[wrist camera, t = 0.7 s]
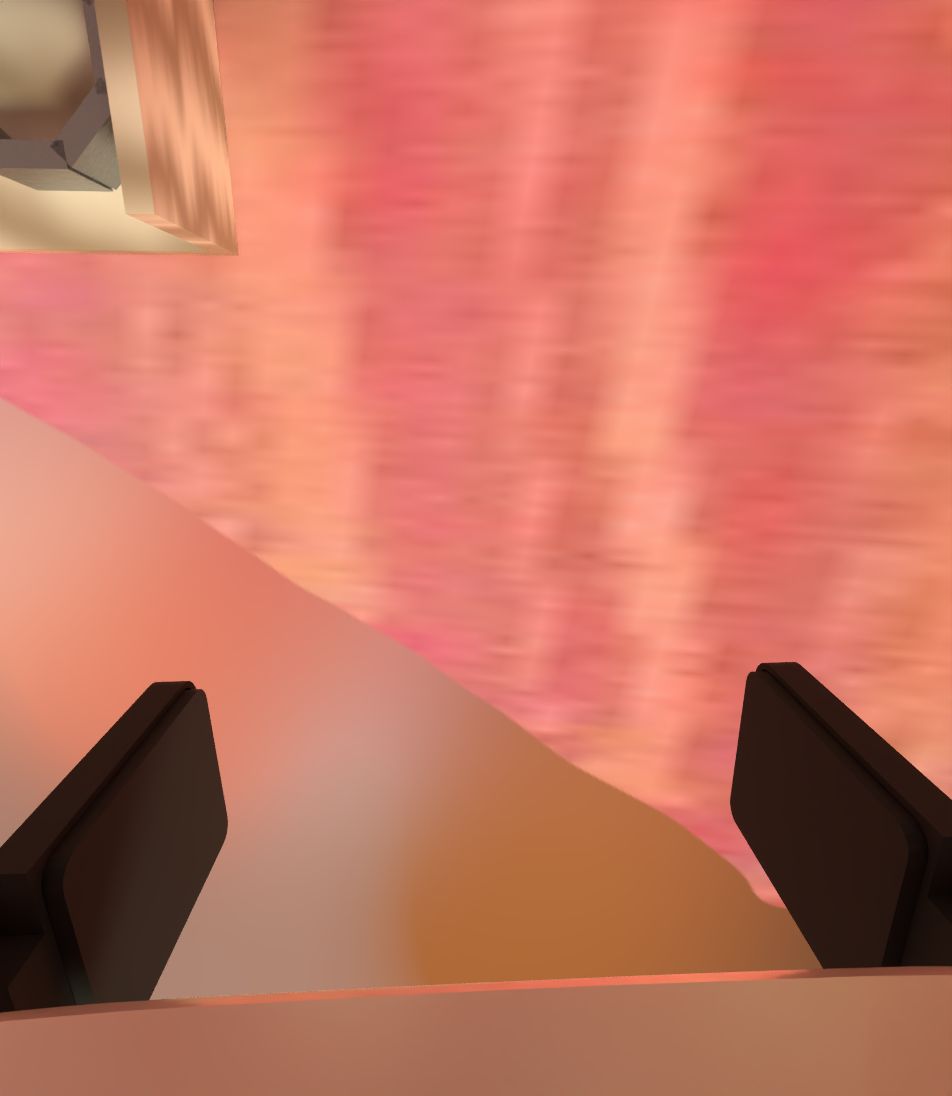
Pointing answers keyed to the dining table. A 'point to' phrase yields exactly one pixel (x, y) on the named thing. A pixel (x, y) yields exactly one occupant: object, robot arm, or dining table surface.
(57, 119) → the holder
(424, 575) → the dining table surface
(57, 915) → the robot arm
